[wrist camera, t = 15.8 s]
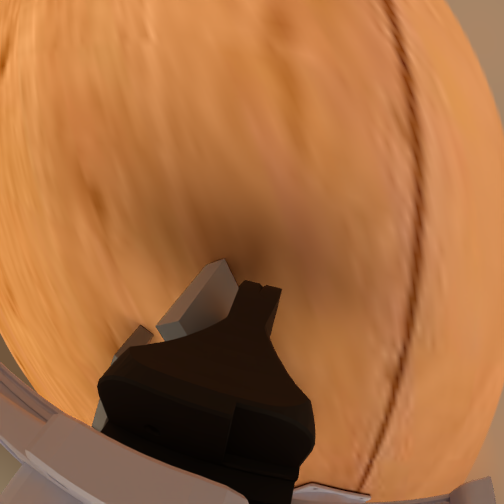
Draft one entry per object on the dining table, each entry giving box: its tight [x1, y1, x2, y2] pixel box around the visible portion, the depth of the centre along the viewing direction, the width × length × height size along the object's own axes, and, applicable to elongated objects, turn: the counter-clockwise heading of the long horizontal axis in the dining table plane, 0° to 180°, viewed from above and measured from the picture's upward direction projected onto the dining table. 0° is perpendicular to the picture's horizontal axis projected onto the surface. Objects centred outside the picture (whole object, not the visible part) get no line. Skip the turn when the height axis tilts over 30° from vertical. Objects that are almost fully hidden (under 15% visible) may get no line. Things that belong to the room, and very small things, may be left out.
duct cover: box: [156, 259, 239, 341], centre depth 12 cm, size 12×1×5 cm, turn 24°
